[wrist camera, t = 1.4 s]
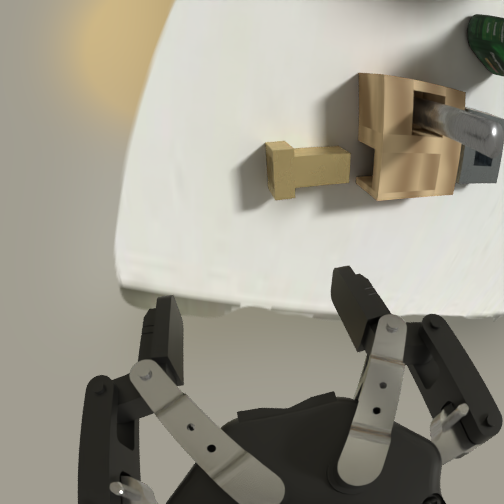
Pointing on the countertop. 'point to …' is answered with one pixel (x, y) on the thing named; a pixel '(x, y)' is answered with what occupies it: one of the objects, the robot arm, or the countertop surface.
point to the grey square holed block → (478, 160)
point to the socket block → (405, 139)
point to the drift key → (304, 167)
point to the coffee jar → (488, 41)
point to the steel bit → (459, 126)
